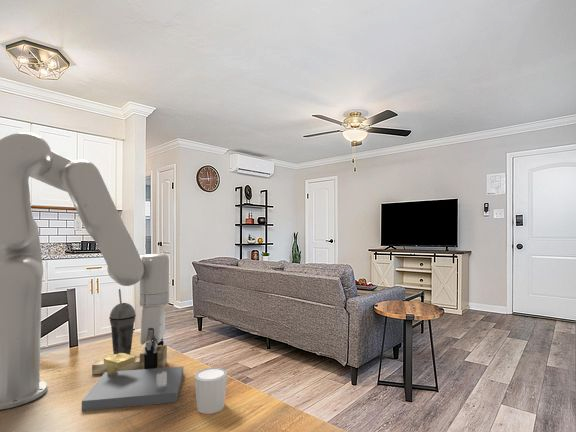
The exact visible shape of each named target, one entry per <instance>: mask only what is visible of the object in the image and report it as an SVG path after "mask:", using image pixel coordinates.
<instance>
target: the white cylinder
mask: <svg viewBox="0 0 576 432" xmlns="http://www.w3.org/2000/svg"><path fill="white" fill-rule="evenodd" d="M193 376H194V386H195V396H196V398H195V399H196V408H197V412H199V413H202V414H211V415H212V414H214V413H218V412H220V411H222V410H223V409H224V408H225V399H226V389H227V379H228V372H227V370H226V369H223V368H219V367H208V368H204V369H203V368H202V369H201V370H199V371H197V372H195V373H194V375H193Z"/></svg>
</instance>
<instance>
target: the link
mask: <svg viewBox="0 0 576 432" xmlns="http://www.w3.org/2000/svg"><path fill="white" fill-rule="evenodd" d="M167 348H168V344H164V345H157V351H156V353H157V352H158V367H157V368H166V365H167V364H168V363H167V362H168V361H167V359H168V355H167V354H168V353H167V351H168V349H167ZM144 354H145V346H144V347H143V348H142V349H141V351H140V353H139V357H136V361H135V362H132V363H130V364H127V365H125V366H122V367H119V368H117V371H127V370H140V369H144ZM105 372H107V365H106V364H104V359H101V360H95V362H93V364H92V365H91V375H101V374H102V375H103V374H104V373H105Z"/></svg>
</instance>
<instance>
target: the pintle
mask: <svg viewBox="0 0 576 432" xmlns="http://www.w3.org/2000/svg"><path fill="white" fill-rule="evenodd" d="M166 389H167V372H166V371H161V372H158V373H157V374H156V390H157V391H164V390H166Z"/></svg>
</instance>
